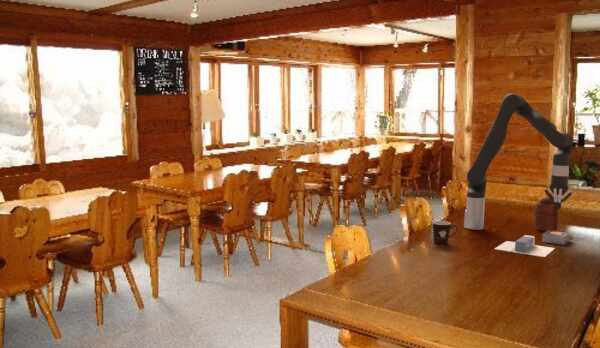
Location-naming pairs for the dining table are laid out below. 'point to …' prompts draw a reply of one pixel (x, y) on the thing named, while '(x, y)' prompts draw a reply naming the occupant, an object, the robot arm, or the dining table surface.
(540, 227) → the wooden figurine
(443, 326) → the dining table surface
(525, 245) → the eraser
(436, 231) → the coffee mug
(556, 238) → the button housing
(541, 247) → the paper sheet
